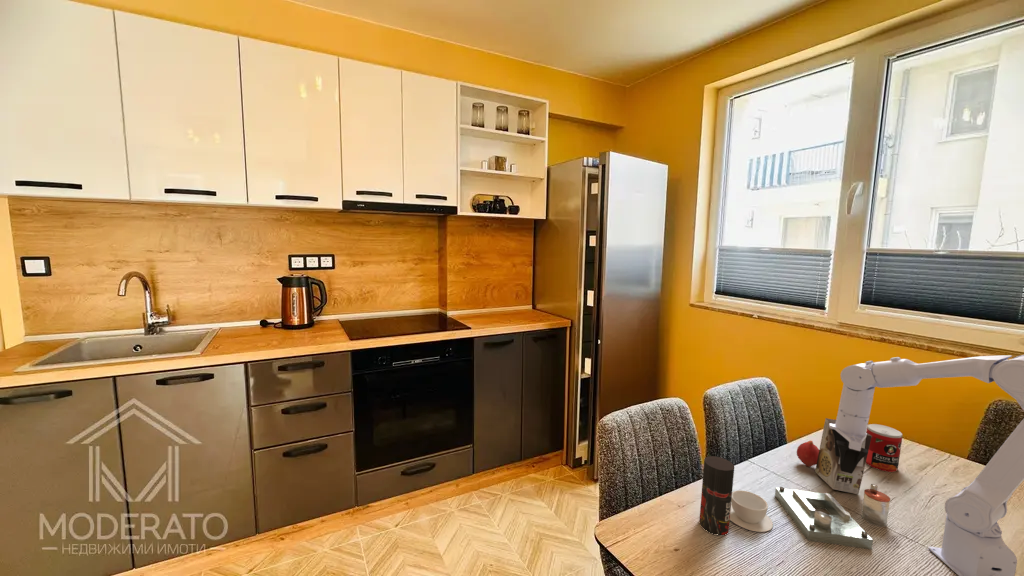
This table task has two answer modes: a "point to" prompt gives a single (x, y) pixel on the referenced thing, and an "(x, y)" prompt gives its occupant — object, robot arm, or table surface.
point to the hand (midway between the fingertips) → (843, 464)
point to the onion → (808, 453)
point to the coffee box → (838, 463)
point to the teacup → (750, 511)
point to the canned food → (884, 447)
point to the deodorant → (716, 495)
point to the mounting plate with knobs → (822, 518)
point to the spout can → (875, 506)
